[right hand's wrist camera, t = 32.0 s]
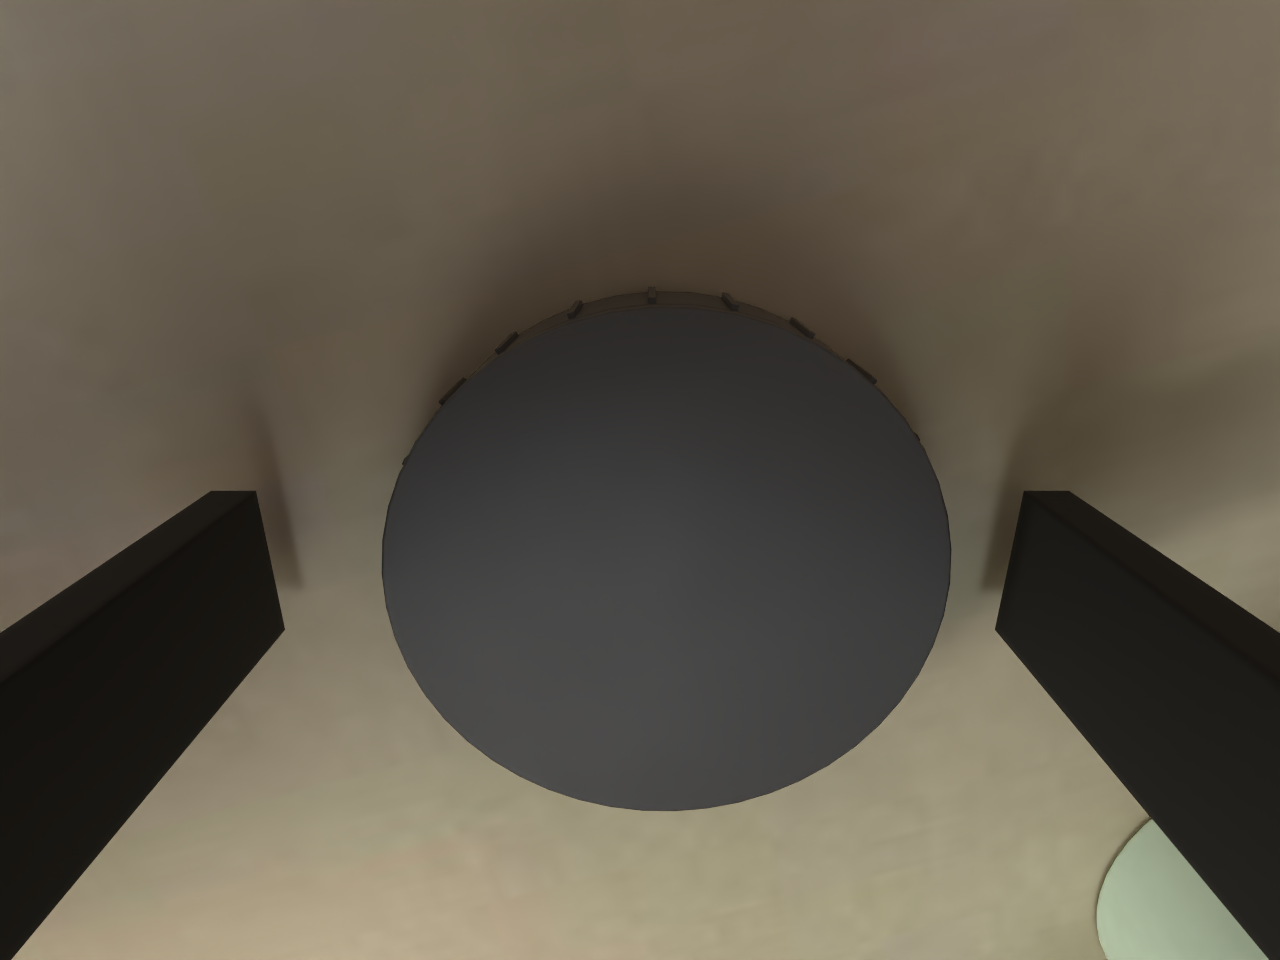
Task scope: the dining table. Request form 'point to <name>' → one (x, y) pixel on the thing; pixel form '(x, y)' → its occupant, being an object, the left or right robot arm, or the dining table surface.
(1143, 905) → the jar
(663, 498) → the lid
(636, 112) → the dining table surface
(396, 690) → the dining table surface
